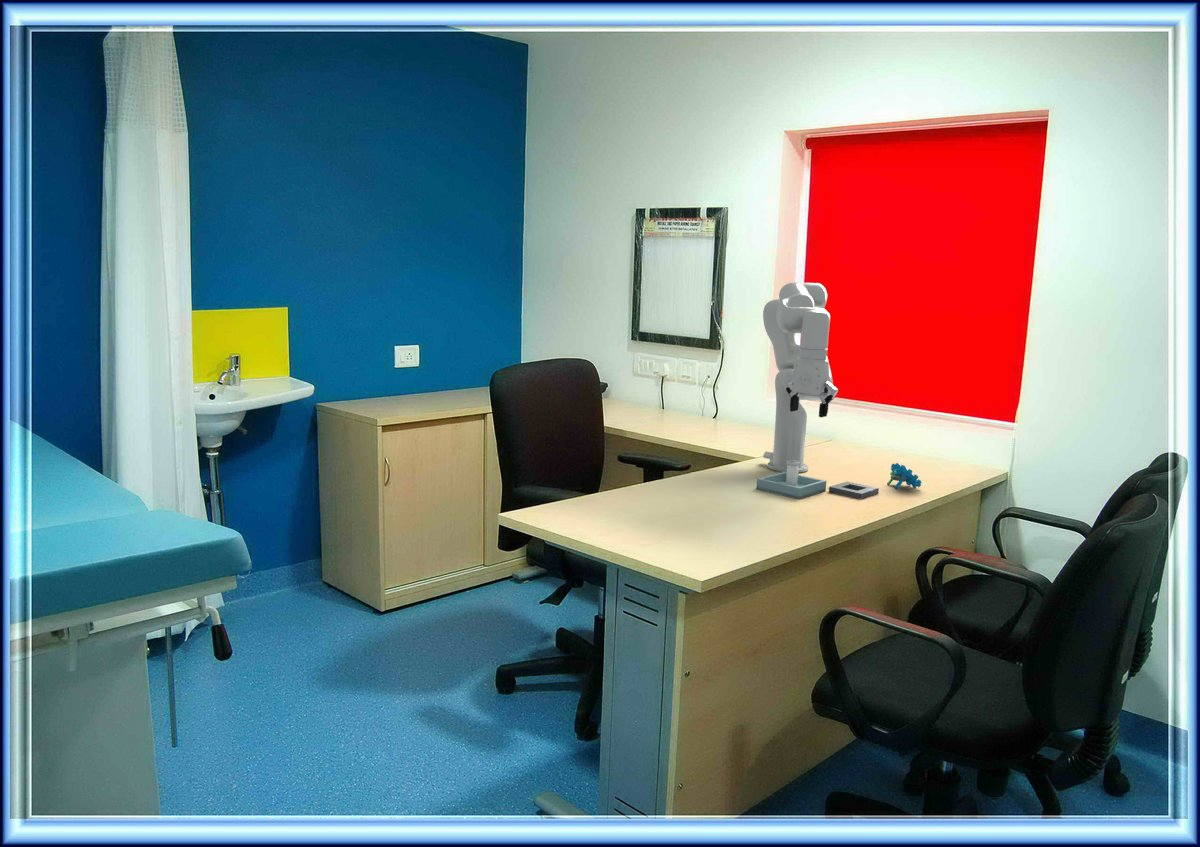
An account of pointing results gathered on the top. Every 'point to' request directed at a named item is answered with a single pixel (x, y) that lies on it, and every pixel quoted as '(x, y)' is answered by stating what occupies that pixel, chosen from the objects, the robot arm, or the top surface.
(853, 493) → the frame
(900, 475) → the blue lumpy figure
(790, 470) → the cylinder
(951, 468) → the top surface
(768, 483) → the parts tray
